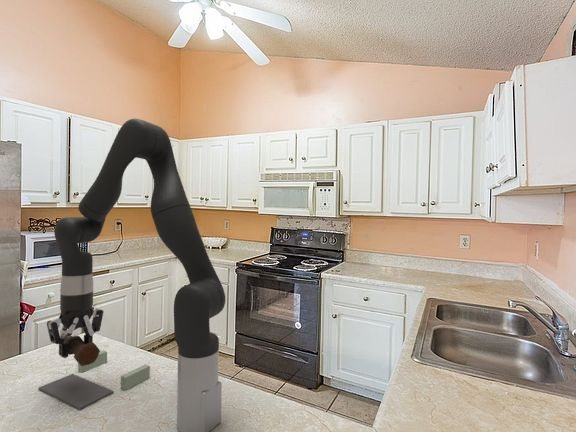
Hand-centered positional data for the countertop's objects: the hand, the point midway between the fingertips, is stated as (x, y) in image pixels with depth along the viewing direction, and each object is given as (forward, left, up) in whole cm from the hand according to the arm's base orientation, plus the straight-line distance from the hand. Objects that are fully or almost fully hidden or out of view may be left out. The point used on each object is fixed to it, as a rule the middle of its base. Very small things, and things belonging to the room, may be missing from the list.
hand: (76, 352), depth 90 cm
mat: (0, 0, -11) cm, 11 cm away
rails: (+3, -11, -11) cm, 16 cm away
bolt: (-1, 0, -1) cm, 1 cm away
